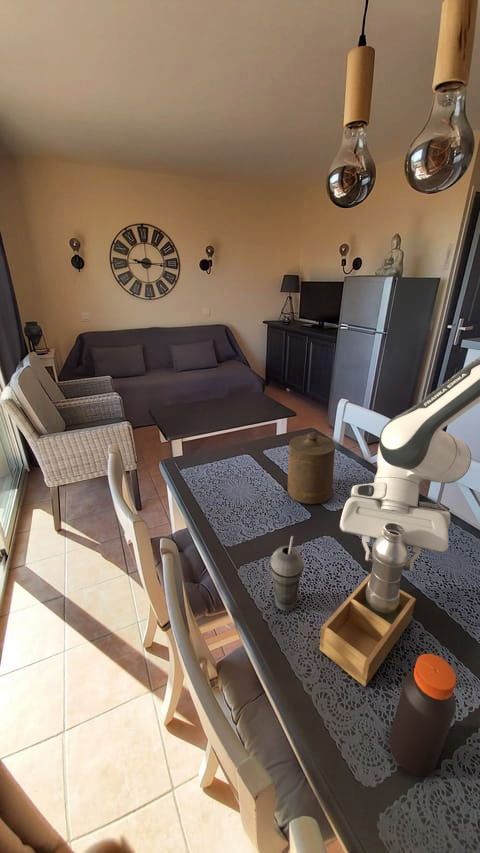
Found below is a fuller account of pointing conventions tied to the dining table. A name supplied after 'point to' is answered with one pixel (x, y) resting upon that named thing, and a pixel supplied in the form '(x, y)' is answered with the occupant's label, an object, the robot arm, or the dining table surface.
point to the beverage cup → (286, 575)
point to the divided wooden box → (364, 633)
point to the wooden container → (310, 468)
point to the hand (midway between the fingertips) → (387, 565)
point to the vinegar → (423, 715)
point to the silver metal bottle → (387, 569)
